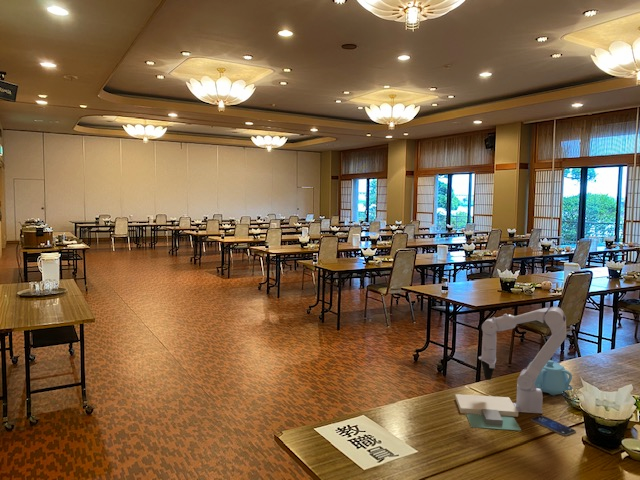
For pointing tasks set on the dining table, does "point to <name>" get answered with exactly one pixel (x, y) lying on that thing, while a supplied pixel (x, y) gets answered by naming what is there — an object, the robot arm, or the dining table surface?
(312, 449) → the dining table surface
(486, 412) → the grey bevelled tile
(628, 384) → the dining table surface
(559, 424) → the smartphone
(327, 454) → the dining table surface
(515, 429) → the mat
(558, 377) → the decorative pot
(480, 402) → the white flat board
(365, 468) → the dining table surface
